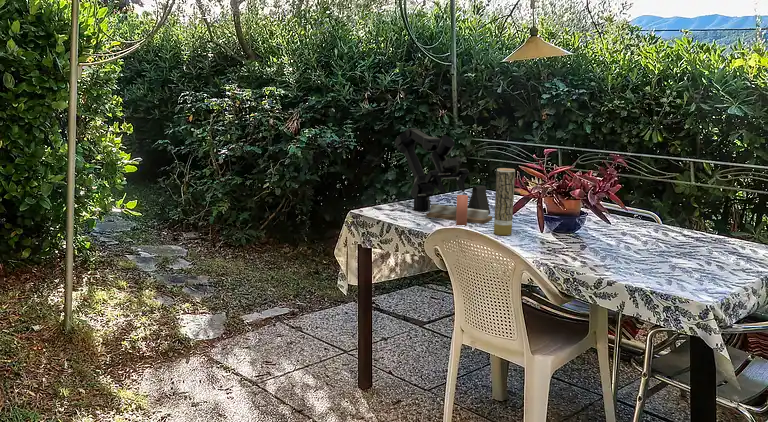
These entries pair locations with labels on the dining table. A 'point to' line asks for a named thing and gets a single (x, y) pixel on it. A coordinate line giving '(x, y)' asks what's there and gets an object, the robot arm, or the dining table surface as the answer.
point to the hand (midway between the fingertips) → (454, 192)
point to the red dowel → (461, 210)
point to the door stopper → (479, 199)
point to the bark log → (504, 201)
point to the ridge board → (453, 217)
